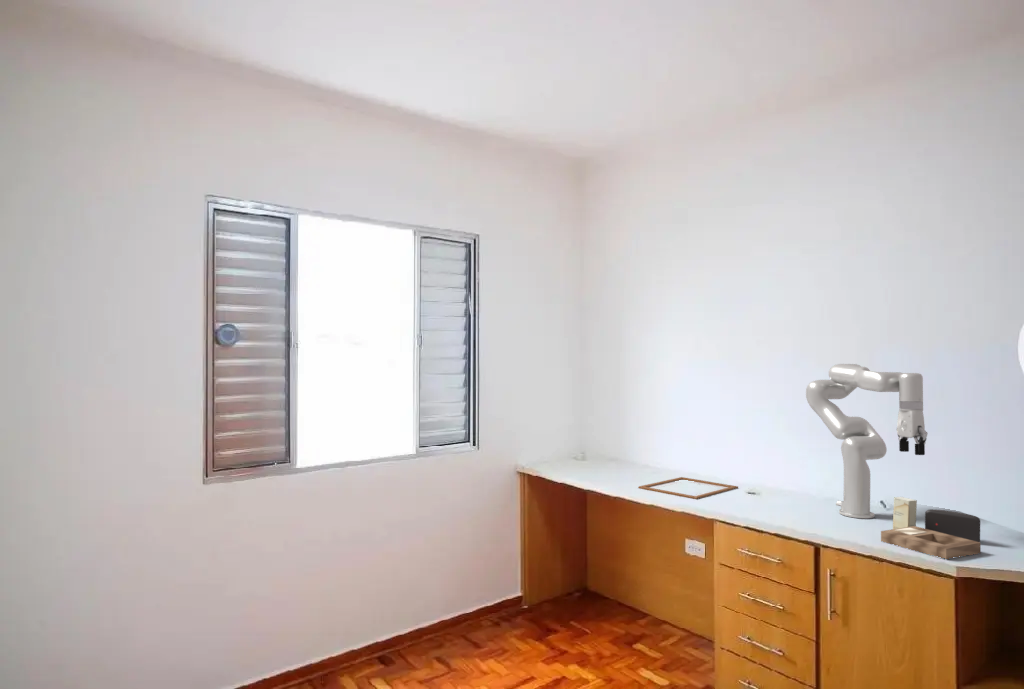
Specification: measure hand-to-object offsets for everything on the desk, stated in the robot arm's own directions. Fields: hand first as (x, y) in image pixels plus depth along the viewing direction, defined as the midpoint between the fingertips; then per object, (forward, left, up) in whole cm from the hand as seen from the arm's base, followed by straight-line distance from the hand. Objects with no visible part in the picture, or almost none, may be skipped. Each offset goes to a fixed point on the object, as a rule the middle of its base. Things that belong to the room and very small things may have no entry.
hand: (911, 453), depth 240 cm
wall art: (-92, -26, -30) cm, 100 cm away
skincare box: (-1, -3, -29) cm, 29 cm away
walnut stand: (+15, -14, -29) cm, 35 cm away
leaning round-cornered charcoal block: (+12, +3, -29) cm, 32 cm away
